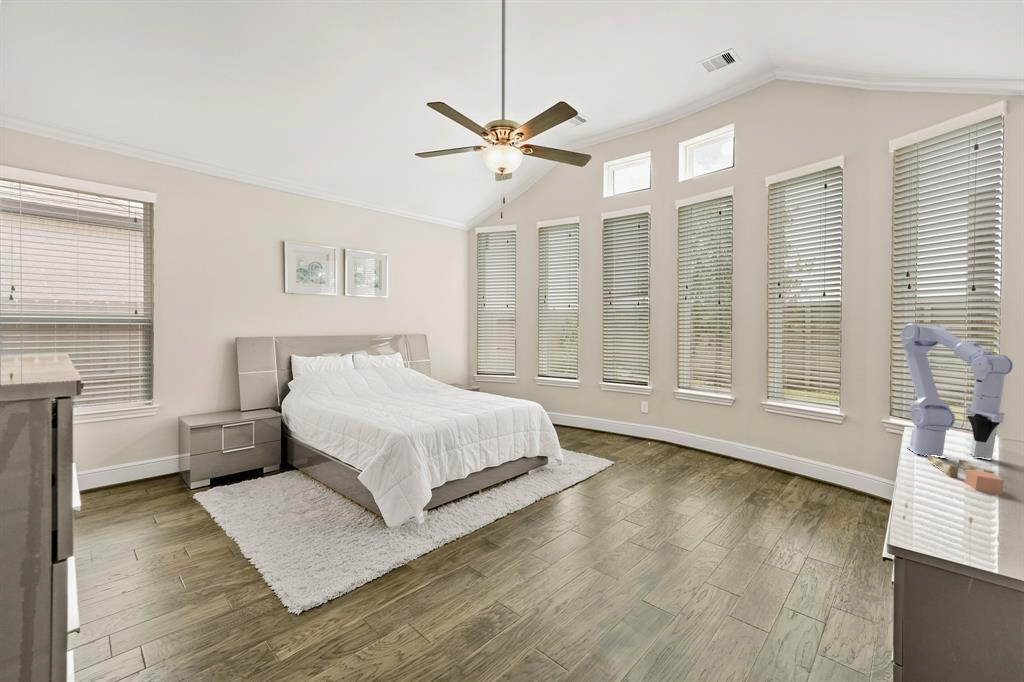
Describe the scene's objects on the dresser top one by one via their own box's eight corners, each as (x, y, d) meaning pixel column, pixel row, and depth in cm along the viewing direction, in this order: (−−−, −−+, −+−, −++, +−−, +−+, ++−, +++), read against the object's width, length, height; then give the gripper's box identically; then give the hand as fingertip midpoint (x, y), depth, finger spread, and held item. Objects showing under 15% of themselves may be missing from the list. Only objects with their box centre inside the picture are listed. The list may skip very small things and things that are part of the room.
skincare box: (992, 461, 143) (997, 425, 142) (973, 458, 146) (978, 422, 145) (987, 457, 148) (992, 421, 147) (969, 453, 151) (974, 419, 150)
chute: (927, 461, 139) (928, 451, 139) (964, 466, 136) (965, 456, 136) (950, 476, 126) (951, 465, 126) (992, 483, 122) (993, 472, 122)
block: (965, 483, 122) (967, 469, 122) (990, 487, 120) (992, 473, 119) (975, 490, 117) (977, 475, 116) (1001, 495, 114) (1003, 480, 114)
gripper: (1021, 402, 121) (1013, 450, 122) (991, 393, 134) (984, 437, 135) (986, 398, 124) (979, 446, 125) (960, 390, 137) (954, 433, 138)
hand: (980, 441), depth 130 cm, fingers closed
